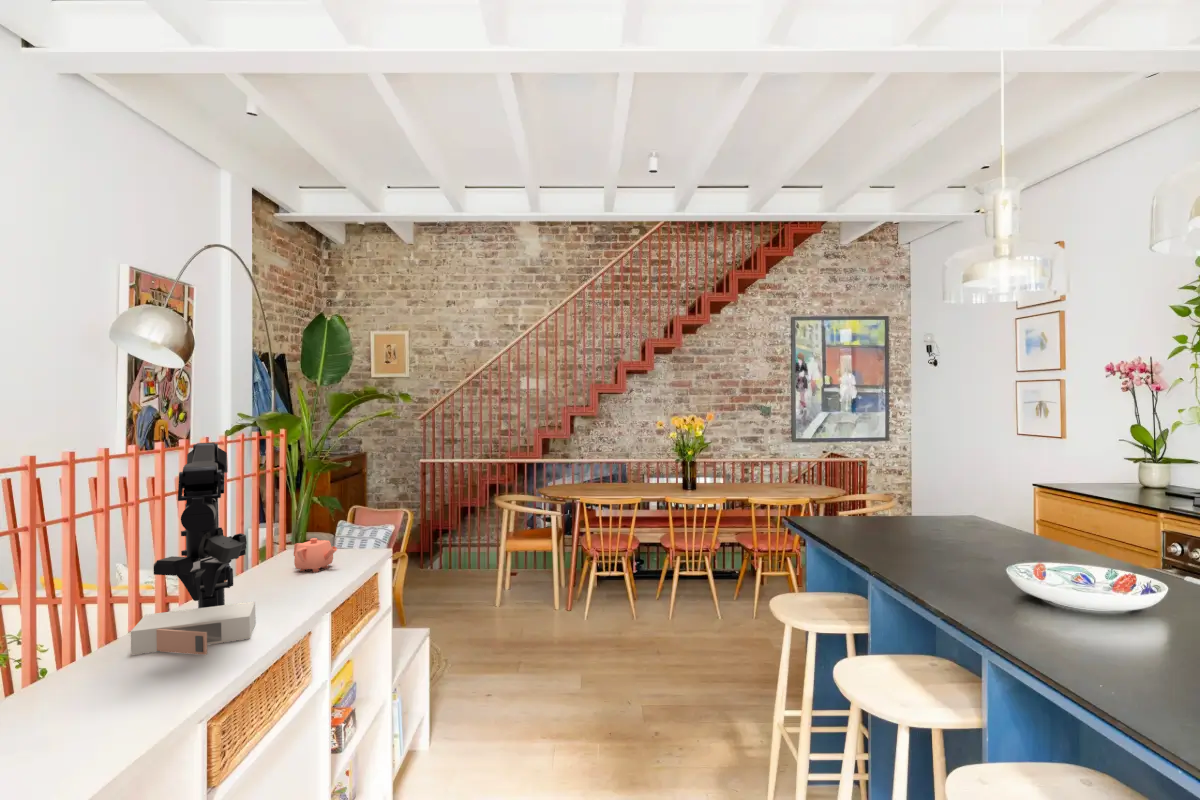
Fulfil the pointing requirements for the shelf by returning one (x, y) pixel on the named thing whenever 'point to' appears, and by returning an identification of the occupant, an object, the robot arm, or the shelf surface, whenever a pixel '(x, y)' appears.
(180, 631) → the side door
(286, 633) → the shelf surface
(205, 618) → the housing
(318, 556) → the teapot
